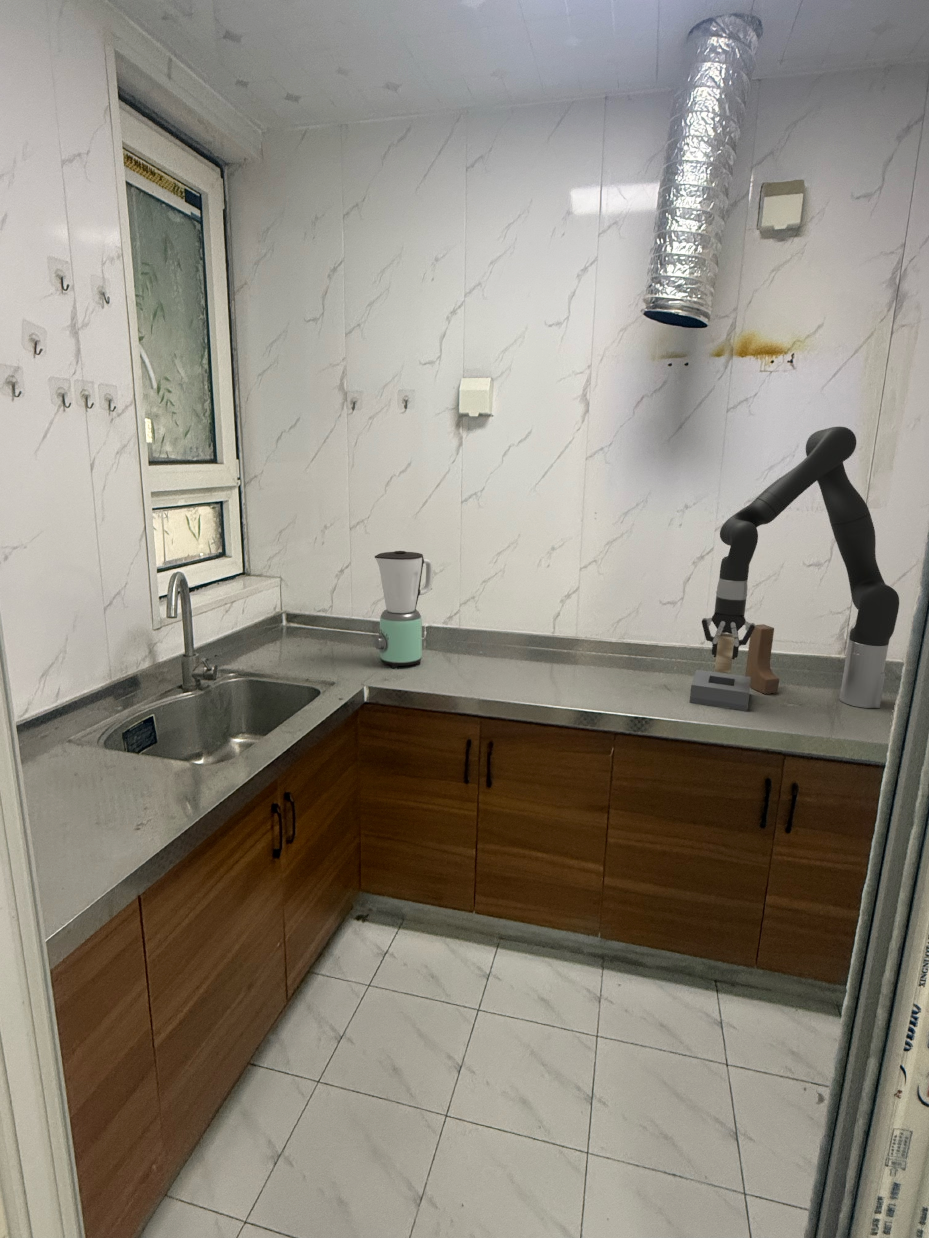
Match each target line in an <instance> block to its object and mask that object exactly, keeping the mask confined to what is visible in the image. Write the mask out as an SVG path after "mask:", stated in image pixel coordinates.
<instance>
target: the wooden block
mask: <svg viewBox="0 0 929 1238" xmlns="http://www.w3.org/2000/svg"><path fill="white" fill-rule="evenodd" d="M774 635H775V628H774V627H772V626H771V625H768V624H767V625H766V624H764V623H763V624H755V629H754V630H753V632H752V634H751V636H750V638H749V640H748V650H747V658H746V665H745V673H744V676H748V677H751V680H750V689H753V690H755V691H757V692H760V693H761V694H763V693H764V694H763V695H770V694H771V693H773V694H777V693H778V690H779V684H780V678H779V677H778V676H776V674H774V673H773V670H772V669H771V656H772V649H773V642H774Z"/></svg>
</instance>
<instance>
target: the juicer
mask: <svg viewBox="0 0 929 1238" xmlns="http://www.w3.org/2000/svg"><path fill="white" fill-rule="evenodd" d="M374 559H375V560H376V562H377V564H378V567H379V573H380V580H381V585H382V591H383V592H382V593H383V599H384V604H385V609H384V610H383V611H382V612H381V613H380V618H379V633H378V635H377V636H375V637H374V638H373V639H374V640H373V641H374V642H373V643H374V646H375V649H376V650H379V659H380V661H381V662H382V663H384V664H385V665H389V666H391V669H393V668H397V669H399V667H401V666H403V667H404V666H405V667H406V666H411V665H415V666H420V665H421V661H422V658H423V644H422V643H423V629H422V628H423V622H422V621H423V619H422V616H421V614H420V611H419V610H418V609H417V605H418V600H419V597H420V596H424V595H426V594H427V593H429V592H430V590H432V589H431V588H432V585H433V564H432V561H431V560H430V559H428V558H424V555H423V553H421V552H414V551H406V550H405V551H404V550H395V551H387V552H380V553H378V554H376V555H374ZM424 564H425V584H424V587H423V588H421V581H422V574H423V567H424Z"/></svg>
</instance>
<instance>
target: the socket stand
mask: <svg viewBox="0 0 929 1238" xmlns="http://www.w3.org/2000/svg"><path fill="white" fill-rule="evenodd" d="M750 680H751V677H748V676H745V675H739V674H733V673H732V674H731V673H730V674H728V673H721V672H714V671H708V670H702V669H696V670H695V672H694V675H693V678H692V681H691V684H690V693H689V703H692V704H698V705H705V706H711V707H718V708H725V709H732V710H737V711H746V712H748V710H749V709H748V708H749V699H750V692H751V687H750Z"/></svg>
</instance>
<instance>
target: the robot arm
mask: <svg viewBox="0 0 929 1238" xmlns="http://www.w3.org/2000/svg"><path fill="white" fill-rule="evenodd" d="M856 447H857V437H856V433H854V432H853V431H852V430H851V429H850V428H848V427H846V426H832V427H827V428H824V429H820V430H817V431H815V432H813V433H811V435H810V436H809V437H808V439H807V440H806V443H805V454H806V457H805V458H804V459H803V460H802V461H801V462H799V463H798V464H797V465H796V466H794V468H792V469H791V470H789V471H788V472H786V473H785V474H783V476H781V477H779V478H778V479H776V480H775V481H773V482H772V483H771V484H769V486H767V488H765V489H764V490H763V491H762V492H761V493H760V494H759V495H758V496H757V497H755V499H754V500H752V502H751V503H750V504H748V505H747V506H745V507H743V508H741V509H740V510H739V511H738V512H736V513H735V514H733V515H732V516H730V517H729V518H727V520H725V522H724V523H722V526H721V528H720V531H719V538H720V540H721V542H722V543H724V544H725V545H727V546H730V548H729V552H728V554H727V556H724V557H723V558H722V560H721V561H720V568H719V569H720V570H719V577H718V582H717V587H716V591H715V593H716V596H715V605H714V612H713V615H712V617H708V618H706V617H704V618H702V619H701V625H702V628H703V633H704V637H705V640H706V641H707V642H711V645H712V646H711V655H713V658H716V654H717V645H718V636H720V635H721V633H727V634H732V635H733V638H734V647H733V655H732V661H734V660H735V659H736V658H738V657H739V651H740V650H739V649H740V646H746V645H747V644H748V643H749V641H750V636H751V634H752V632H753V630H754V629H755V625H756V624H755V623H754V622H749V621H747V620H746V617H745V612H746V604H747V596H748V590H749V589H748V579H749V574H750V573H749V572H750V564H751V561H752V559H753V557H754V554H755V551H756V549H757V545H758V540H759V532H758V529H757V528H759V527H760V526H762V525H768V524H770V523H772V521H774V520H775V519H776V518H777V517H779V516H780V514H781V513H783V512H784V510H785V509H787V507H789V506H790V505H791V504H792V503H793V502H794V501H795V500H796V499H797V498H799V496H800V495H802V494H803V493H804V492H805V491H807V489H809V488H810V487H811V486H812V485H813V484H815V483H816V482H817V483H818V486H819V489H820V492H821V496H822V500H823V503H824V505H825V510H826V512H827V516H828V519H829V523H830V527H831V530H832V533H833V536H834V539H835V542H836V544H837V548H838V550H839V553H840V555H841V559H842V561H843V562H844V566H845V569H846V573H847V577H848V582H849V589H850V595H851V596H850V597H851V600H852V603H853V605H854V607H855V608H856V609H857V616H856V620H855V624H854V627H852V628H851V629H850V631H849V637H848V638H849V639H848V643H847V650H846V655H845V662H844V668H843V675H842V682H841V686H840V687H841V688H840V693H839V700H840V701H841V702H842V703H844V704H846V705H849V706H852V707H853V706H854V707H857V708H865V709H867V708H868V709H869V708H870V709H872V708H877V709H880V708H881V700H882V695H883V688H884V684H885V678H886V673H885V668H886V662H887V656H888V650H889V645H890V641H891V637H892V636H893V635H894V631H895V628H896V623H897V619H898V613H899V608H900V596H899V593H898V592H897V591H896V590H895V589H894V588H893V587H891V586H889V584H886V583H885V581H884V578H883V576H882V574H881V571H880V568H879V565H878V561H877V557H876V555H877V554H876V545H877V544H876V541H877V540H876V532H875V530H876V529H875V526H874V522H873V519H872V516H871V512H870V509H869V507H868V505H867V502H866V501H865V499H864V498H863V497H862V495H861V494H860V493H859V491H858V490H856V488H855V487H854V485H853V484H852V483H851V481H850V479H849V477H848V474H847V472H846V469H845V466H844V462H846V461H847V460H848V459H849V458H850V457H851V456H852V455H853V453H854V452H855V451H856ZM711 622H712V623H713V625H714V626H715V628H716V632H715V634H714V636H712V634H711V630H710V627H711V625H712V624H711ZM743 626H745V634H744V635H743V638H742V639H740V637H739V630H740V629H741V628H743Z"/></svg>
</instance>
